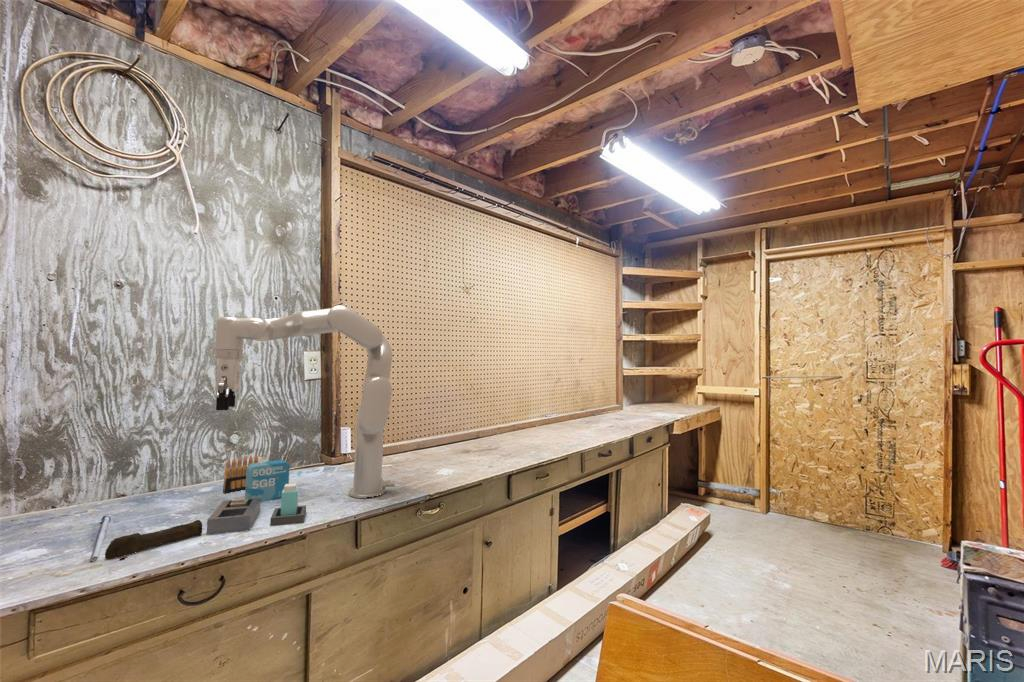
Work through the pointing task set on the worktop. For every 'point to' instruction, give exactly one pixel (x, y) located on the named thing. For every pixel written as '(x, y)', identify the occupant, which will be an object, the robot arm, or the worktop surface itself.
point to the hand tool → (151, 539)
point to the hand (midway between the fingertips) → (225, 408)
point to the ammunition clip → (236, 475)
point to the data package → (266, 480)
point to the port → (234, 515)
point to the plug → (289, 500)
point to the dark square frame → (288, 517)
